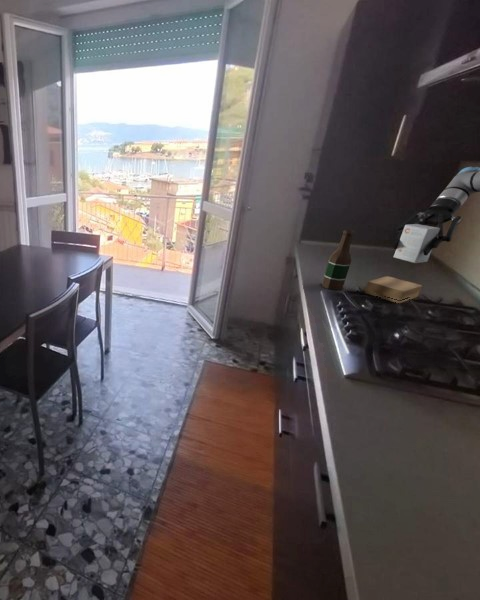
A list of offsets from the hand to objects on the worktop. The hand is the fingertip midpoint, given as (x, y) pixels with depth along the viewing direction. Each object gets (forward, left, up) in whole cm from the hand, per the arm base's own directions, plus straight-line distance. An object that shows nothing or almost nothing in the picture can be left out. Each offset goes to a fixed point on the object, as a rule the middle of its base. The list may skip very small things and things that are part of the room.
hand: (409, 249), depth 135 cm
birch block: (0, 0, -19) cm, 19 cm away
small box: (+1, -3, -4) cm, 6 cm away
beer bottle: (+12, +16, -19) cm, 28 cm away
